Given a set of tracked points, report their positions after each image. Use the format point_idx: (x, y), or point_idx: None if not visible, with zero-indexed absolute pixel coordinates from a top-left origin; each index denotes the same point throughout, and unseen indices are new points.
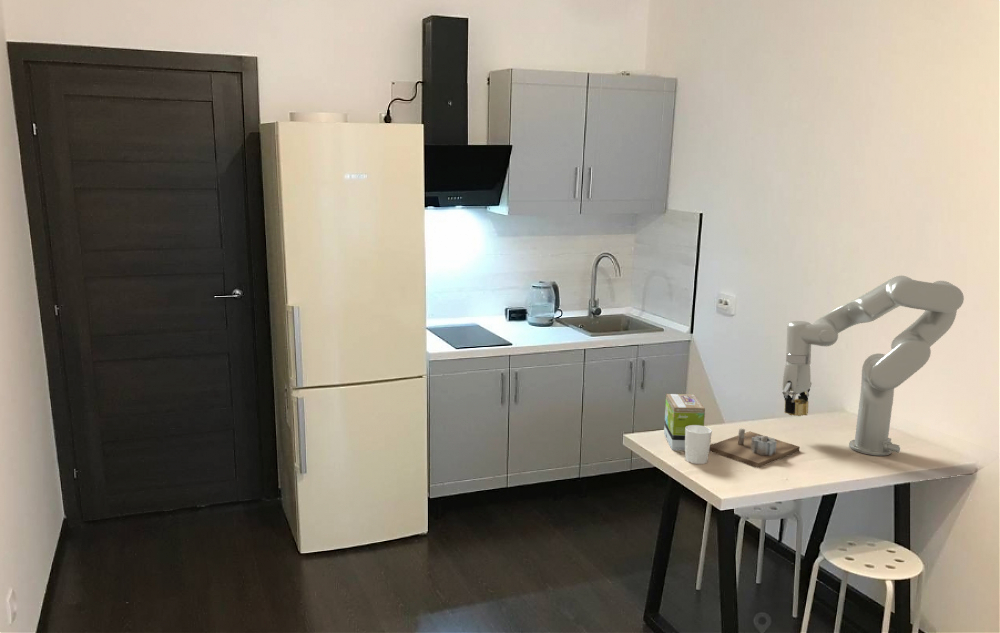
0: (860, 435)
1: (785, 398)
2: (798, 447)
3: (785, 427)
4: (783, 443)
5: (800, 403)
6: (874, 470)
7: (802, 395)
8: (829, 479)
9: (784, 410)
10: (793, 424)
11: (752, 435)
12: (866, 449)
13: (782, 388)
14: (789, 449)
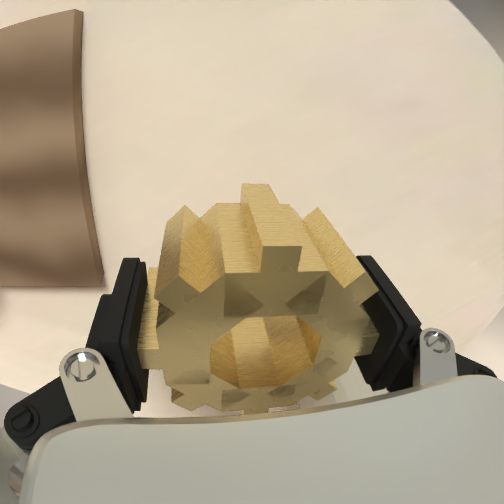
0: (308, 399)
1: (33, 403)
2: (92, 285)
3: (383, 71)
4: (65, 229)
5: (213, 400)
6: (175, 415)
7: (396, 369)
8: (29, 388)
9: (182, 215)
10: (443, 89)
11: (24, 68)
12: None
13: (30, 477)
14: (36, 280)
